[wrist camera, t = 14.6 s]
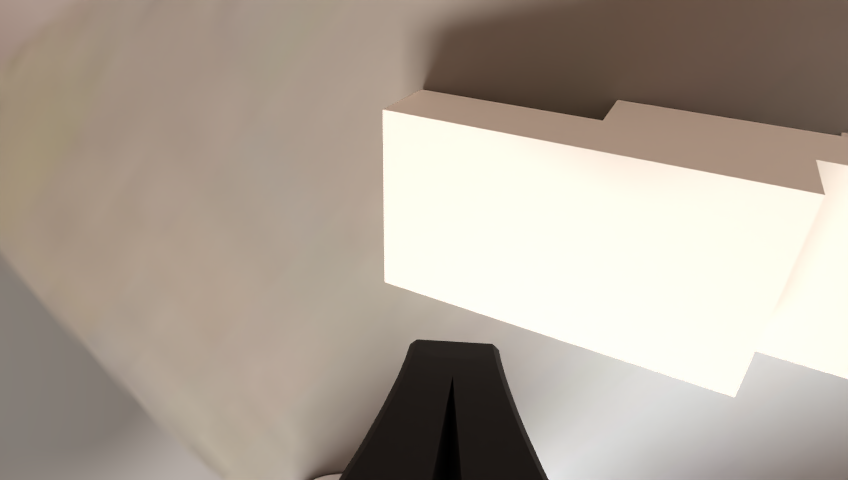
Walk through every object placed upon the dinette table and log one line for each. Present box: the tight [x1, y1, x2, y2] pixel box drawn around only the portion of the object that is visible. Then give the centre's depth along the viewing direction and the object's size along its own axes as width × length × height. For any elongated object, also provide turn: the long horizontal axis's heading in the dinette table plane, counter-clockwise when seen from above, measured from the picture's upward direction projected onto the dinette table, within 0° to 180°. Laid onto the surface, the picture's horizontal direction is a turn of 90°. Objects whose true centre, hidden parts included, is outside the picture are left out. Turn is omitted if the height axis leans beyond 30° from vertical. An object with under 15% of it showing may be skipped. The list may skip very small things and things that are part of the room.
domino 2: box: [603, 100, 848, 379], centre depth 13 cm, size 2×5×9 cm
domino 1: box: [383, 89, 825, 398], centre depth 13 cm, size 2×5×9 cm
